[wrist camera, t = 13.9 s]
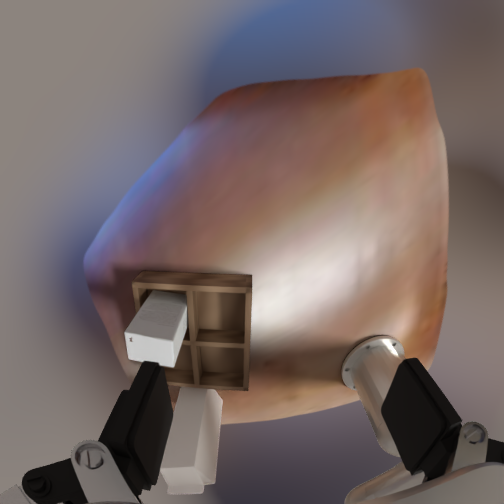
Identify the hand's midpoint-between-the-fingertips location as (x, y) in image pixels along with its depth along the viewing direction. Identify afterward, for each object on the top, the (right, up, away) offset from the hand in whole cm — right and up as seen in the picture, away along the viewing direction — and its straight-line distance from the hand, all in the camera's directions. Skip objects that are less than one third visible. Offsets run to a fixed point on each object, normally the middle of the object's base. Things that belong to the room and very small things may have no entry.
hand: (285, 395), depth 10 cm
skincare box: (-13, -2, +31) cm, 34 cm away
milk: (-11, -21, +38) cm, 45 cm away
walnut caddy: (-10, -6, +33) cm, 35 cm away
